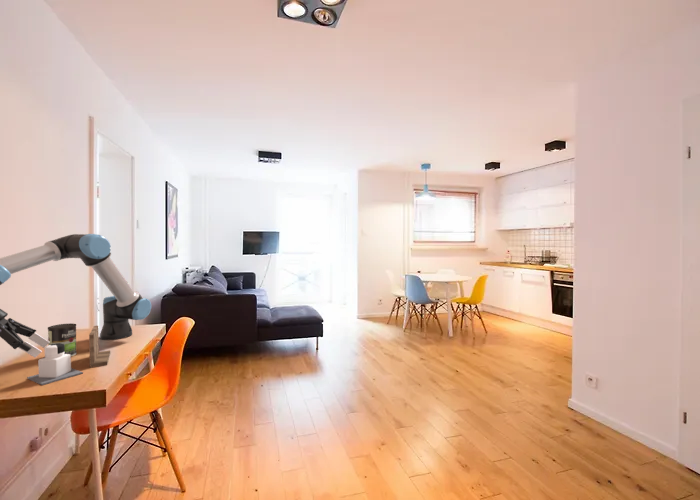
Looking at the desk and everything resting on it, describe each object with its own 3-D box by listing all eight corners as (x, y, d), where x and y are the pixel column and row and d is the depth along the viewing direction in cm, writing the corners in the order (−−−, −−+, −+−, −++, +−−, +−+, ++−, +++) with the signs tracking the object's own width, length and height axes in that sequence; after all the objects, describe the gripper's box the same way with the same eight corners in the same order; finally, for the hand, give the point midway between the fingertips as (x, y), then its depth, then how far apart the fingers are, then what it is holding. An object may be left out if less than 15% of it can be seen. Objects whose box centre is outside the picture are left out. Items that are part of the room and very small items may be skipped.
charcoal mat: (67, 367, 146) (67, 366, 146) (82, 373, 139) (82, 372, 139) (27, 378, 134) (27, 377, 134) (42, 385, 128) (42, 383, 128)
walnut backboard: (94, 355, 161) (94, 325, 161) (110, 353, 165) (109, 324, 164) (89, 367, 146) (89, 334, 146) (107, 364, 149) (106, 332, 149)
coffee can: (82, 352, 165) (81, 323, 165) (60, 360, 155) (59, 329, 155) (65, 351, 167) (64, 322, 167) (42, 358, 157) (41, 328, 157)
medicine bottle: (54, 371, 141) (53, 341, 140) (71, 371, 140) (70, 341, 140) (38, 377, 134) (37, 347, 133) (56, 378, 133) (55, 347, 133)
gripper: (-10, 317, 135) (41, 348, 144) (-38, 331, 114) (25, 367, 122) (8, 302, 138) (58, 334, 146) (-15, 313, 117) (44, 350, 125)
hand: (43, 349), depth 134 cm, fingers open, 13 cm apart
